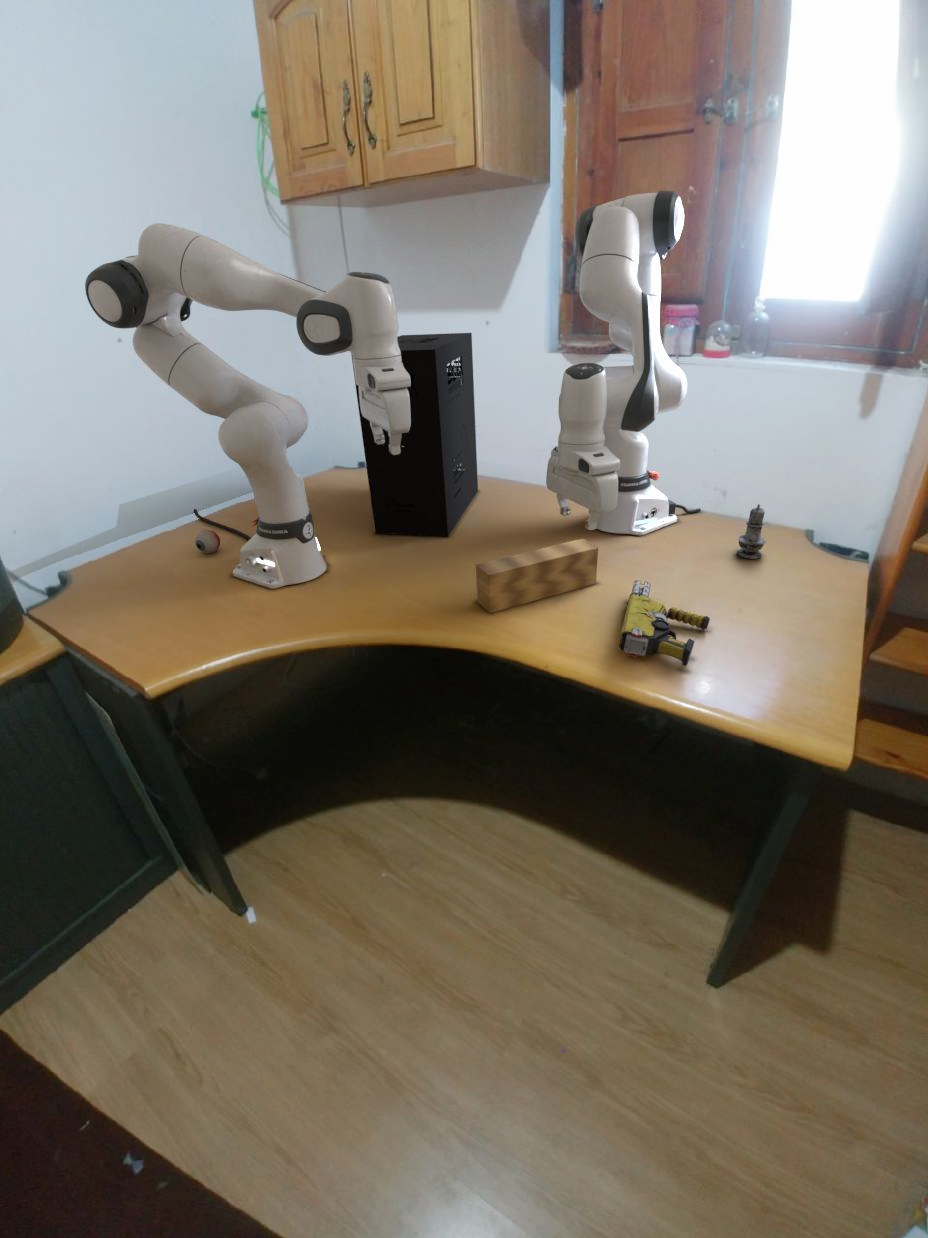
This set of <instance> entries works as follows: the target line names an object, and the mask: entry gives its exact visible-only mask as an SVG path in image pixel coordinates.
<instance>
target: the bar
mask: <svg viewBox="0 0 928 1238" xmlns="http://www.w3.org/2000/svg"><path fill="white" fill-rule="evenodd" d="M598 556H599V547H598V546H596V545H595V544H593V543H591V542H589V541H588V540H586V539H584V538H579V539H575V540H571V541H567V542H563V543H559V544H555V545H551V546H546V547H542V548H539V549H534V550H530V551H526V552H522V553H517V554H513V555H509V556H505V557H502V558H497V559H493V560H489V561H485V562H481V563H477V564H475V577H476V578H475V579H476V596H477V602H478V603H479V604H480V605H481V607H483V608H484V610H486V611H487V612H488V613H489V614H491V613H495V612H498V611H502V610H506V609H509V608H513V607H517V606H520V605H524V604H527V603H531V602H534V601H535V602H536V601H538V600H541V599H545V598H549V597H553V596H557V595H560V594H564V593H567V592H572V591H574V590H578V589H582V588H585V587H589V586H592V585H596V584H597V574H598V572H597V571H598V558H599V557H598Z"/></svg>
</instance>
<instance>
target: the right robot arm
mask: <svg viewBox="0 0 928 1238" xmlns="http://www.w3.org/2000/svg"><path fill="white" fill-rule="evenodd" d="M684 223H685V210H684V206H683V203H682V199H681V197H680V195H679V194H678V192H676V191H674V190H658V192H645V193H636V194H631V195H627V196H625V197H622V198H621V197H620V198H618V199H614V200H611V201H607V202H604V203H602V204H598V203H597V204H594V205H592V206H589V207H587V208H585V209H584V210H583V211H582V212H581V214H580V215H579V217H578V218H577V221H576V225H575V232H574V233H575V234H574V236H575V245H576V250H577V253H578V255H579V257H580V258H582V259H581V265H580V273H579V288H578V289H579V297H580V300H581V303H582V304H583V306H584V307H585V309H586V310H587V311H588V312H589V313H591V314H592V315H593V316H594V317H596V318H597V319H599V320H602V321H604V322H607V323H608V336H609V339H610V341H611V342H612V343H613V344H614V345H615V346H617V347H618V348H620V349H622V350H624V351H626V352H627V353H629V354H630V355H631V356H632V360H633V361H632V362H633V364H631V365H617V366H615V365H614V366H602V365H601V364H598V363H595V362H594V363H593V362H582V363H577V364H573V365H571V366H569V367H567V368H566V369H565V370H564V372H563V376H562V380H561V386H560V392H559V397H558V419H559V424H560V429H559V434H558V437H557V438H558V439H557V445H555V446H554V447H553V449H552V450H551V451H550V457H549V458H548V462H547V467H546V477H545V479H546V480H545V484H546V487H547V489H548V490H549V491H550V492H552V493H555V494H556V500H557V503H558V505H559V515H561V516H563V517H567V516H570V515H571V510H572V508H571V506H570V505H569V501H571V502H574V503H575V504H577V505H578V506H579V505H580V506H582V507H583V508H585V509H588V514H589V517H588V519H585V522H584V523H585V525H584V527H585V529H587V530H590V531H593V530H596V529H597V530H599V531H601V532H605V533H611V534H623V535H625V534H626V535H632V536H633V535H634V536H645V535H646V534H650V533H652V532H654V531H657V530H660V529H662V528H665V527H668V526H670V525H672V524H675V523H677V522H678V516H677V515H676V508H678V509H681V510H682V511H684V512H685V513H686V514H695V513H699V512H701V508H700V507H699V508H695V509H690V510H689V509H688V508H687V507H686V506H684V505H682V504H678V503H676V502H674V501H672V500H671V499H669V498H668V497H667V496H666V495H665V494H664V493H663V492H661V491H660V490H659V489H658V488H656V487H655V486H654V485H652V483H651V480H653V481H658V479H659V478H660V473H659V472H657V471H654V470H651V471H649V470H648V469H647V466H648V458H649V457H648V456H649V447H650V443H649V440H648V437H646V435H645V434H644V433H643V432H642V430H645V429H646V428H648V427H649V426H650V425H652V424H653V423H654V422H655V421H656V417H657V415H658V414H663V413H668V412H671V411H675V410H677V409H678V408H680V406H681V405H682V403H683V402H684V400H685V399H686V396H687V393H688V380H687V376H686V374H685V372H684V370H682V369H681V367H679V366H678V365H677V364H676V363H675V362H674V361H673V360H672V359H671V358H670V357H669V354H667V352H666V350H665V348H664V345H663V342H662V337H661V328H660V325H661V324H660V319H661V318H660V317H661V315H660V313H661V295H662V272H661V261H663V260H664V259H665V258H666V257H667V254H668V253H669V252H670V251H671V250H673V249H674V247H675V245H677V243H678V242H679V240H680V238H681V235H682V231H683V229H684Z"/></svg>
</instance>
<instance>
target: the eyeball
mask: <svg viewBox="0 0 928 1238" xmlns="http://www.w3.org/2000/svg"><path fill="white" fill-rule="evenodd" d="M194 543H195V546H196V548H197V549H198V550H199V551H200V552H201V553H204V554H212V553H215V552H217V550H219V548H220V547H221V537H220V536H219V534H218V533H217V532H215V531H214V530H212V529H202V530H201V531H199V532H198V533H197V534H196V536H195V538H194Z"/></svg>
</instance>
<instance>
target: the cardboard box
mask: <svg viewBox="0 0 928 1238" xmlns="http://www.w3.org/2000/svg"><path fill="white" fill-rule="evenodd" d="M472 334H473V333H472V332H455V333H453V332H452V333H429V334H427V333H424V334H423V333H422V334H402V335H399V336H398V335H397V340H398V345H399V348H400V351H401V359H402V363H403V366H404V368H405V370H406V371H407V372H408V374H409V375H410V380H411V386H410V387H406V388H407V389H408V392H409V397H410V412H411V425H410V430H409V432H407V433H401V434H402V437H401V443H400V450H401V453H400V454H398V455H392V454H391V453H390V452H389V444H390V437H389V435H388V431H386V430H384V429H383V428H382V431H383V434H384V437H385V443H384V444H380V445H378V444H376V443H375V441H374V434H373V432H372V429H371V426H370V421H369V420H368V419H366V418H364V417H363V416H362V413H361V409H360V399H359V386H358V385H356V380H355V373H354V372H353V376H354V383H355V384H354V385H355V391H356V393H355V394H356V398H357V407H358V415H359V422H360V429H361V437H362V443H363V445H362V446H363V452H364V459H365V466H366V467H365V468H366V474H367V482H368V488H369V489H368V490H369V496H370V504H371V512H372V519H373V527H374V533H375V534H377V535H378V534H379V535H381V534H382V535H400V536H401V535H404V536H424V537H425V536H426V537H427V536H428V537H446V538H447V537H449V536H450V535H451V533H452V532H453V530H454V528H455V527H456V526H457V524H458V522H459V521H460V519H461V517H463V516H462V515H464V513H465V511H466V510H467V509H468V507H469V505H470V504H471V502H472V501H473V499H474V497H475V496H476V495H477V493H478V491H479V482H478V481H479V479H478V458H477V435H476V432H477V431H476V409H475V408H476V407H475V385H474V382H475V381H474V361H473V336H472ZM350 355H351V356H352V353H351V352H350ZM351 361H352V363H351V364H352V370H353V371H354V365H353V358H352V357H351Z"/></svg>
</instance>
